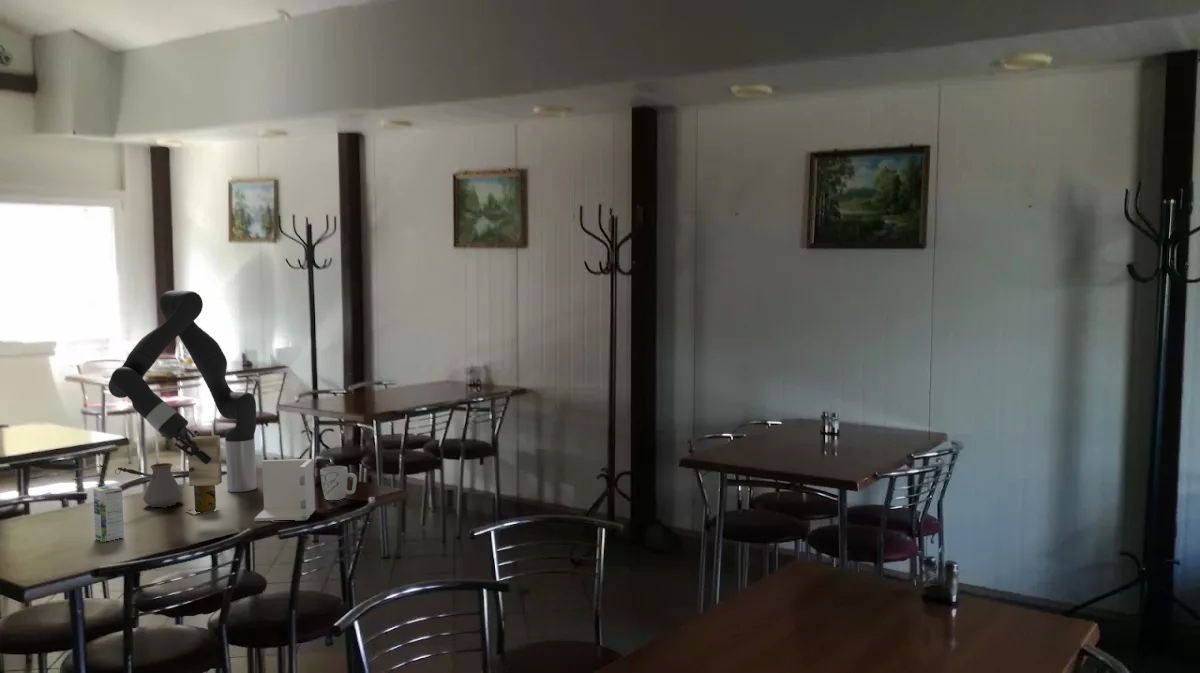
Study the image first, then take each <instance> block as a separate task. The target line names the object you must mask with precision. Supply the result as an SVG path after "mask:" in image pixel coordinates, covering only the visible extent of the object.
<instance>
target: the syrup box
mask: <svg viewBox="0 0 1200 673" xmlns="http://www.w3.org/2000/svg"><path fill="white" fill-rule="evenodd" d="M92 490H93V515H94V516H93V518H94V519H93V520H94V537H95V538H94V539H95V540H96V539H97V540H96V541H99V540H100V541H99V542H102V543H103V542H105V543H107V542H106V541H109V542H111V541H110V540H114V541H116V540H115V539H118V540H120V539H119V538H122V539H124V538H125V535H124V534H125V533H124V528H125V527H124V508H123V488H122V487H119V486H115V485H104V486H99V487H95V488H93V489H92Z"/></svg>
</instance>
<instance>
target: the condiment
mask: <svg viewBox="0 0 1200 673" xmlns="http://www.w3.org/2000/svg"><path fill="white" fill-rule="evenodd" d="M193 492H194V496H193V497H194V508H193V509H195V511H196V512H200V514H199V515H202V514H201V513H203V514H205V513H204V512H210V513H212V512H211V511H214V510H215V509H216V508H217V504H216V503H217V500H216V495H217V494H216V485H210V486H193ZM193 509H187V510H186V509H185V510H184V512H185V513H187V512H188V511H191V510H193Z"/></svg>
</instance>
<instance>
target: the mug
mask: <svg viewBox="0 0 1200 673" xmlns="http://www.w3.org/2000/svg"><path fill="white" fill-rule="evenodd" d="M319 471H320V472H319V473H320V474H319V475H320V481H321V488H322V492H323V498H324V500H325V499H326V500H339V499H343V498H346V495H353V494H354V493H355V492H356V488H357V483H358V482H357V481H358V477H357V475H356V474H355V473H353V472H349V470H348V467H347V466H344V465H333V466H326V467H322V468H321V469H319ZM349 478H352V485H351V488H352V489H351V490H348V479H349ZM326 500H325V501H326ZM343 500H344V499H343Z"/></svg>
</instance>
